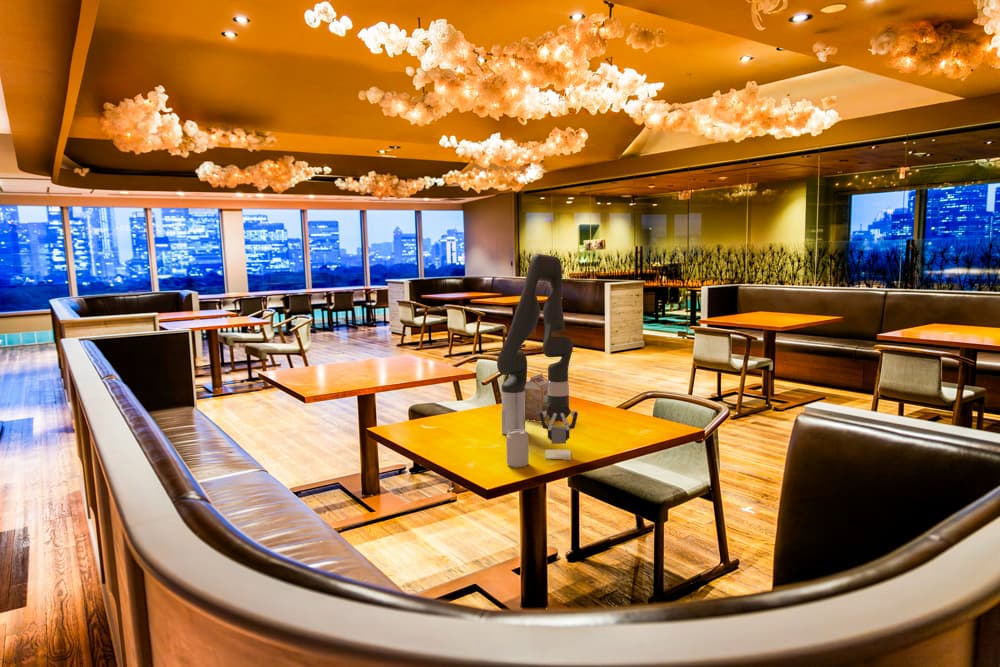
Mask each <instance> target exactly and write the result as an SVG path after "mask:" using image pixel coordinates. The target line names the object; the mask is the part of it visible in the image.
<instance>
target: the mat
mask: <svg viewBox="0 0 1000 667" xmlns="http://www.w3.org/2000/svg"><path fill="white" fill-rule="evenodd" d="M544 451H545V452H544V453H545V454H544V455H545V456H544V458H545V459H547V460H546V461H548V460H549V459H564V460H563V461H569V460H570V461H572V453H571V449H545V450H544ZM566 459H567V460H566ZM549 461H550V460H549Z"/></svg>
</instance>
